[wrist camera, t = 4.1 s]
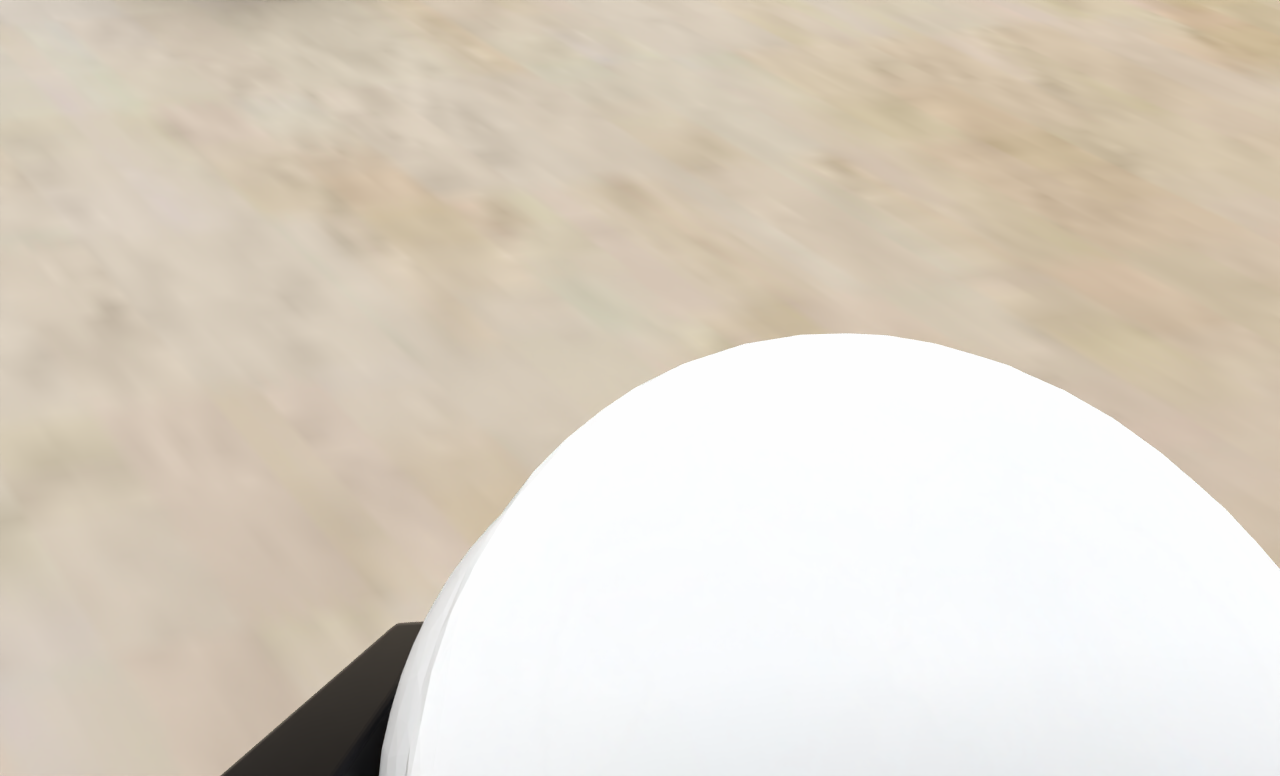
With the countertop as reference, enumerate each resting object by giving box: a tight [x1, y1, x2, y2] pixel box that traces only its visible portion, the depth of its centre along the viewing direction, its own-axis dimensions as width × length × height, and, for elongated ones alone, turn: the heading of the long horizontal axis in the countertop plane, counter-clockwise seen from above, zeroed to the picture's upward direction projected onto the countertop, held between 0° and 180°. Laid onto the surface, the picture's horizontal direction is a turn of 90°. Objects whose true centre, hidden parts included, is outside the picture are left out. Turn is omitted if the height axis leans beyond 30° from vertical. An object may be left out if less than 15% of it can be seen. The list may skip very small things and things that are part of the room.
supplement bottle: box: [379, 333, 1280, 776], centre depth 9 cm, size 7×7×13 cm
